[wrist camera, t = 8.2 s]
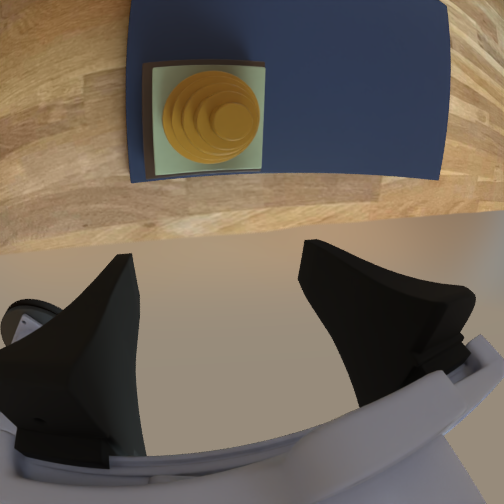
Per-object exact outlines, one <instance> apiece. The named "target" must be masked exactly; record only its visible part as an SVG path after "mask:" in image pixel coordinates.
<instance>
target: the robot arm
mask: <svg viewBox="0 0 504 504" xmlns="http://www.w3.org/2000/svg"><path fill="white" fill-rule="evenodd" d="M298 281H299V283H300V285H301V288H302V290H303V292H304V294H305V296H306V298H307V300H308V301H309V303H310V304H311V306H312V308H313V309H314V311H315V312H316V314H317V315H318V317H319V318H320V320H321V322H322V323H323V325H324V326H325V328H326V329H327V331H328V332H329V334H330V335H331V337H332V339H333V341H334V343H335V345H336V347H337V349H338V351H339V354H340V355H341V358H342V360H343V363H344V365H345V367H346V370H347V372H348V374H349V377H350V380H351V383H352V385H353V388H354V391H355V394H356V397H357V401H358V404H359V407H360V408H358V409H356V410H354V411H351V412H349V413H346V414H344V415H342V416H340V417H338V418H336V419H334V420H331V421H329V422H327V423H324V424H321V425H318V426H315V427H312V428H309V429H306V430H302V431H299V432H296V433H292V434H289V435H285V436H282V437H278V438H274V439H270V440H266V441H262V442H257V443H253V444H248V445H243V446H238V447H232V448H227V449H220V450H214V451H206V452H199V453H191V454H179V455H165V456H147V455H146V451H145V445H144V441H143V435H142V429H141V424H140V416H139V408H138V399H137V388H136V372H135V371H136V351H137V340H138V329H139V319H140V295H139V290H138V285H137V280H136V274H135V269H134V263H133V257H132V254H131V253H129V254H117V255H116V256H115V257H114V259H113V260H112V261H111V262H110V263H109V264H108V265H107V266H106V268H105V269H104V270H103V271H102V272H101V273H100V274H99V276H98V277H97V278H96V279H95V280H94V281H93V282H92V283H91V284H90V285H89V286H88V287H87V288H86V289H85V290H84V291H83V292H82V294H80V295H79V296H78V297H77V298H76V299H75V300H74V301H73V302H72V303H71V304H70V305H69V306H67V307H66V308H65V309H64V310H63V311H61V312H60V313H59V314H58V315H56V316H55V317H53V318H52V319H51V320H49V321H48V322H47V323H45V324H44V325H42V324H40V323H39V322H37V321H36V320H34V319H33V318H31V317H30V316H28V315H27V314H23V315H22V317H21V320H20V322H19V325H18V327H17V330H16V332H15V335H14V337H13V340H12V343H11V344H10V345H8V346H6V347H4V348H2V349H0V504H486V502H485V500H484V499H483V497H482V495H481V494H480V492H479V490H478V489H477V487H476V485H475V484H474V482H473V480H472V479H471V477H470V476H469V474H468V472H467V471H466V470H465V468H464V466H463V464H462V463H461V461H460V460H459V458H458V457H457V455H456V454H455V452H454V451H453V449H452V448H451V446H450V445H449V443H448V442H447V440H446V439H445V437H444V435H445V434H446V433H448V432H449V431H450V430H451V429H452V428H454V427H455V426H456V425H457V424H458V423H459V422H461V421H462V420H463V419H464V418H465V417H466V416H467V415H468V414H469V413H471V412H472V411H473V410H474V409H475V408H476V407H477V406H478V405H479V404H480V403H481V402H482V401H483V400H484V399H485V398H486V397H487V396H488V394H490V392H491V391H492V390H493V389H494V388H495V387H496V386H497V385H498V384H499V382H500V381H501V380H502V379H503V378H504V359H503V357H502V356H501V355H500V354H499V353H498V352H497V351H496V350H495V349H494V347H493V346H492V345H491V344H490V343H489V342H488V341H487V340H486V339H485V338H484V337H483V336H482V335H481V334H480V335H478V336H477V337H475V338H474V339H472V340H471V341H470V342H469V343H468V344H467V345H466V346H465V345H463V343H462V341H463V339H464V336H463V335H462V334H461V333H460V332H461V330H462V328H463V327H464V325H465V323H466V322H467V320H468V318H469V316H470V314H471V312H472V311H473V308H474V306H475V301H476V297H475V294H474V293H473V292H472V291H471V290H469V289H468V288H466V287H464V286H459V285H449V284H440V283H435V282H429V281H425V280H420V279H416V278H413V277H409V276H405V275H402V274H399V273H396V272H393V271H390V270H387V269H384V268H382V267H379V266H377V265H374V264H372V263H370V262H368V261H365V260H363V259H361V258H359V257H356V256H354V255H352V254H350V253H348V252H346V251H344V250H342V249H340V248H337V247H335V246H333V245H331V244H329V243H326V242H324V241H321V240H317V239H314V240H305V241H304V247H303V253H302V258H301V264H300V270H299V275H298Z"/></svg>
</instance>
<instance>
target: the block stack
mask: <svg viewBox="0 0 504 504" xmlns="http://www.w3.org/2000/svg"><path fill="white" fill-rule="evenodd" d="M265 70H266V69H265V62H262V61H249V60H229V59H191V60H171V61H158V62H148V63H143V64H142V125H143V147H144V162H145V175H146V179H156V178H165V177H176V176H187V175H200V174H215V173H233V172H259V171H261V167H262V145H263V121H264V96H265ZM205 71H222V72H226V73H230V74H232V75H234V76H236V77H238V78H240V79H241V80H243V81H244V82H245V83H246V84H247V85H248V86H249V87H250V88H251V90H252V91H253V93H254V94H255V96H256V98H257V101H258V104H259V109H260V122H259V127H258V130H257V133H256V135H255V137H254V139H253V141H252V142H251V143H250V145H249V146H248V147H247V148H246V149H245V150H244V151H243V152H242V153H240V154H239V155H237V156H236V157H234V158H232V159H230V160H228V161H225V162H221V163H216V164H203V163H197V162H194V161H191V160H189V159H187V158H185V157H183V156H182V155H180V154H179V153H178V152H177V151H176V150H175V149H174V148H173V147H172V146H171V144H170V143H169V142H168V140H167V138H166V135H165V132H164V129H163V121H162V117H163V110H164V106H165V103H166V100H167V98H168V97H169V95H170V93H171V92H172V91H173V89H174V88H175V87H176V86H177V85H178V84H179V83H180V82H182V81H183V80H184V79H186V78H188V77H189V76H192V75H194V74H197V73H200V72H205Z"/></svg>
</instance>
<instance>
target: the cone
mask: <svg viewBox="0 0 504 504" xmlns="http://www.w3.org/2000/svg"><path fill="white" fill-rule="evenodd" d="M162 121H163V129H164V132H165V135H166V138H167V140H168V142H169V143H170V144H171V146H172V147H173V148H174V149H175V150H176V151H177V152H178V153H179V154H180V155H182V156H183V157H185V158H187V159H189V160H191V161H194V162H197V163H203V164H216V163H221V162H225V161H228V160H230V159H232V158H234V157H236V156H237V155H239V154H240V153H242V152H243V151H244V150H245V149H246V148H247V147H248V146H249V145H250V143H251V142H252V141H253V139H254V137H255V135H256V133H257V130H258V127H259V122H260V109H259V104H258V101H257V98H256V96H255V94H254V93H253V91H252V90H251V88H250V87H249V86H248V85H247V84H246V83H245V82H244V81H243V80H241V79H240V78H238V77H236V76H234V75H232V74H230V73H226V72H222V71H205V72H200V73H197V74H194V75H192V76H189V77H188V78H186V79H184V80H183V81H182V82H180V83H179V84H178V85H177V86H176V87H175V88H174V89H173V91H172V92H171V93H170V95H169V97H168V98H167V100H166V103H165V106H164V110H163V117H162Z"/></svg>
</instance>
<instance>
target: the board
mask: <svg viewBox="0 0 504 504" xmlns="http://www.w3.org/2000/svg"><path fill="white" fill-rule="evenodd" d="M191 59H229V60H249V61H262V62H265V69H266V70H265V96H264V121H263V145H262V167H261V171H259V172H233V173H215V174H200V175H187V176H176V177H165V178H156V179H146V175H145V162H144V147H143V125H142V64H143V63H148V62H158V61H171V60H191ZM450 77H451V56H450V34H449V22H448V13H447V6H446V5H445V4H443V3H442V2H441V1H439V0H132V1H131V9H130V18H129V28H128V41H127V58H126V125H127V144H128V158H129V169H130V180H131V183H138V182H147V181H156V180H165V179H175V178H187V177H199V176H213V175H231V174H254V173H344V174H367V175H384V176H397V177H409V178H420V179H430V180H439V175H440V170H441V165H442V159H443V153H444V147H445V140H446V132H447V123H448V113H449V100H450Z"/></svg>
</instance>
